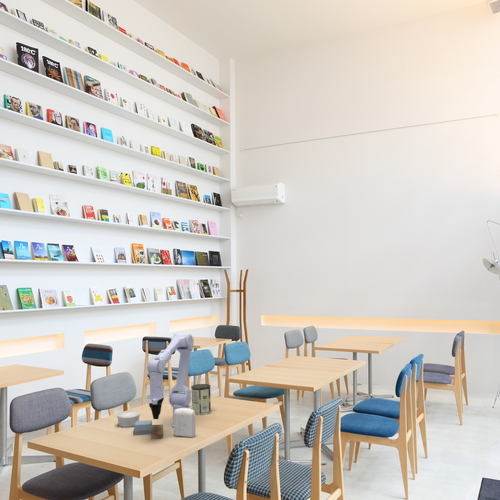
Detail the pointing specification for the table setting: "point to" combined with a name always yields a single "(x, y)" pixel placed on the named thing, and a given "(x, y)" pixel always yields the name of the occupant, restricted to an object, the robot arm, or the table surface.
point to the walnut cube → (157, 431)
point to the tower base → (142, 432)
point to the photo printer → (184, 422)
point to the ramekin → (128, 418)
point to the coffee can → (201, 399)
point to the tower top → (143, 425)
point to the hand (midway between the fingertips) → (156, 416)
